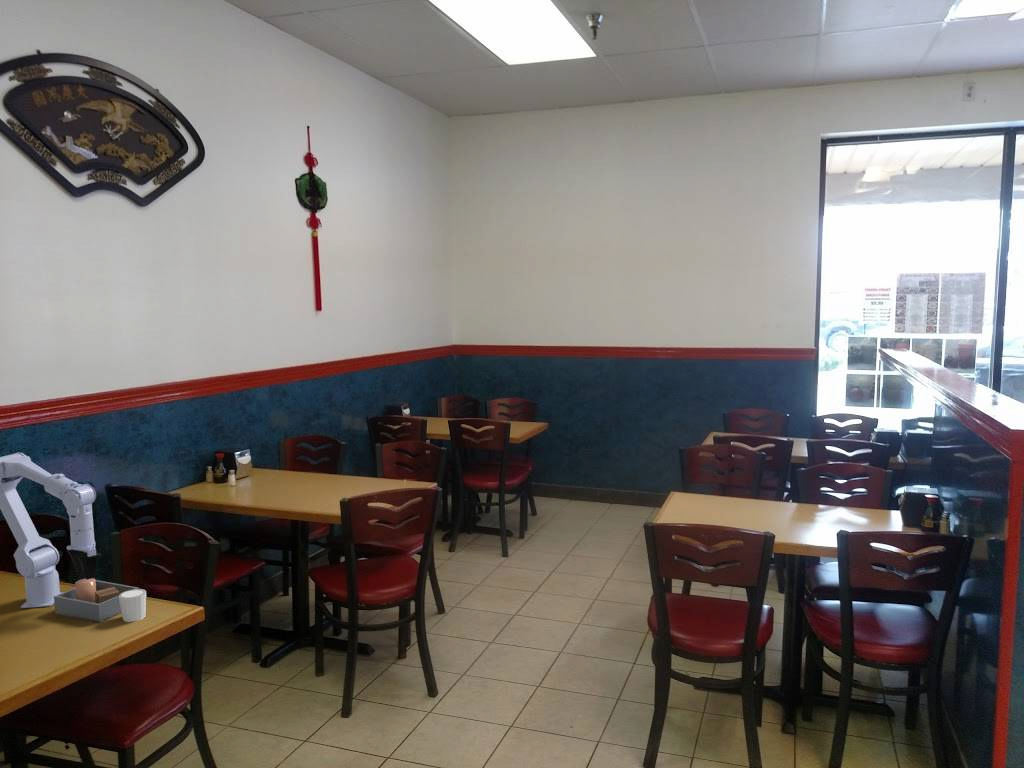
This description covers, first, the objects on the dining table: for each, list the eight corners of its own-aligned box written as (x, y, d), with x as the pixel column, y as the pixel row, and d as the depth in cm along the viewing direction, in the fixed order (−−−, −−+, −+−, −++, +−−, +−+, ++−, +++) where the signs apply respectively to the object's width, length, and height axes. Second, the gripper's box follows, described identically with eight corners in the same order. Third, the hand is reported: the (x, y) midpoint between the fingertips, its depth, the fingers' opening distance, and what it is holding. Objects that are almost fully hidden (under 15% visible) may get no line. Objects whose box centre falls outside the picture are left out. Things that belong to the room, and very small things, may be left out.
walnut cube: (95, 608, 215) (94, 591, 215) (115, 603, 219) (114, 586, 218) (101, 614, 212) (99, 596, 211) (120, 608, 215) (119, 591, 215)
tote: (55, 613, 214) (53, 596, 213) (96, 596, 226) (95, 579, 225) (99, 622, 207) (98, 604, 207) (139, 604, 220) (138, 587, 219)
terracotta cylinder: (85, 601, 221) (83, 577, 220) (101, 602, 220) (99, 578, 219) (72, 608, 216) (71, 584, 215) (88, 609, 215) (87, 585, 214)
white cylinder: (114, 620, 209) (112, 595, 208) (137, 611, 215) (135, 587, 214) (131, 624, 206) (129, 599, 205) (153, 615, 212) (151, 591, 211)
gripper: (57, 526, 218) (61, 572, 219) (74, 537, 208) (78, 585, 209) (84, 521, 223) (88, 566, 224) (102, 531, 213) (106, 578, 214)
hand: (85, 575), depth 217 cm, fingers open, 7 cm apart
